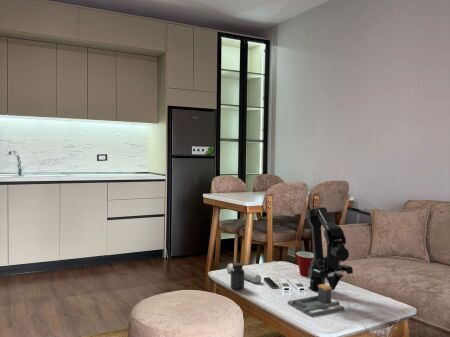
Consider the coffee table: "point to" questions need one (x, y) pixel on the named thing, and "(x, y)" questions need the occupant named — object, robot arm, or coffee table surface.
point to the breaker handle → (324, 293)
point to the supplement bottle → (237, 277)
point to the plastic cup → (304, 262)
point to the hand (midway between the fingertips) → (332, 290)
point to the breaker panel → (315, 306)
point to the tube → (247, 274)
